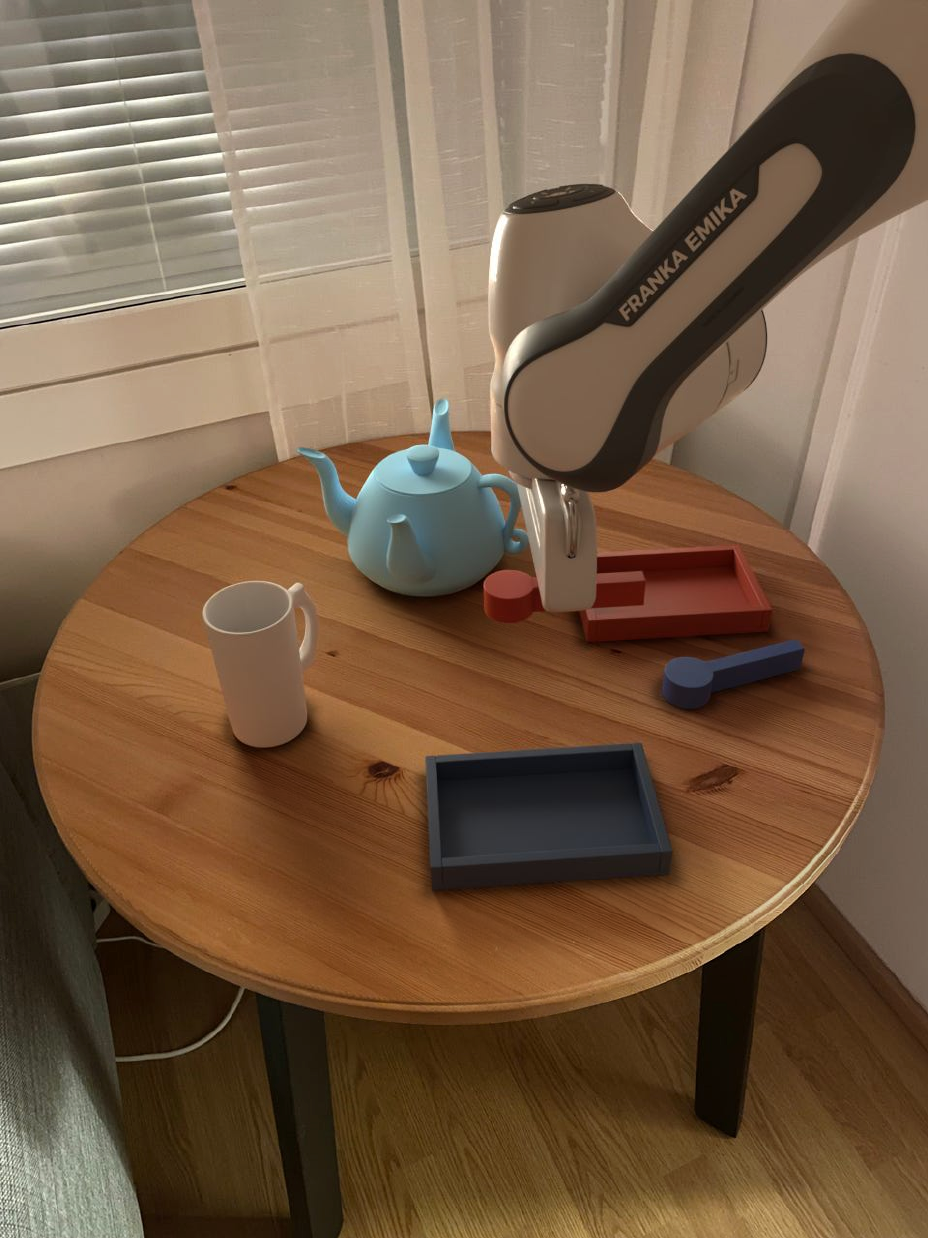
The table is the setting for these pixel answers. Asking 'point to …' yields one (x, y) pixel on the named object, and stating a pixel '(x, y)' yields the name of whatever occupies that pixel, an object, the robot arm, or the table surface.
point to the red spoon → (520, 596)
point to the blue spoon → (726, 672)
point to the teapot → (423, 516)
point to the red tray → (682, 595)
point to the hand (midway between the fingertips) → (549, 588)
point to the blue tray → (543, 817)
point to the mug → (262, 658)
